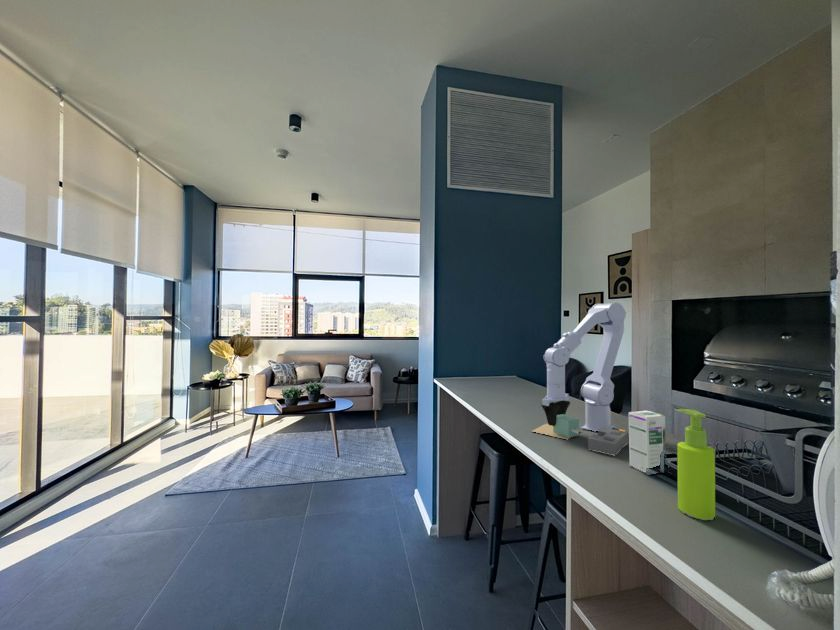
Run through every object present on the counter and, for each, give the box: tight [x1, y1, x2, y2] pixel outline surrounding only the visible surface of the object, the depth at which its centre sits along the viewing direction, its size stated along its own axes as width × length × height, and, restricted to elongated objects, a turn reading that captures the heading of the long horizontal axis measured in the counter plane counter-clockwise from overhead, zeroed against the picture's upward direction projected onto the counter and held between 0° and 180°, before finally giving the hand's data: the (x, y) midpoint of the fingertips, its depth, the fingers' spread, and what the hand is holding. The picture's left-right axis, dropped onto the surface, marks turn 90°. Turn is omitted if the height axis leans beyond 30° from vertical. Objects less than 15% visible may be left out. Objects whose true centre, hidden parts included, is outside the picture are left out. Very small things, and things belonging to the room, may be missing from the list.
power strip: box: [587, 428, 629, 455], centre depth 106 cm, size 14×7×4 cm, turn 137°
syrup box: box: [628, 410, 667, 472], centre depth 90 cm, size 6×6×14 cm
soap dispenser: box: [676, 408, 716, 519], centre depth 71 cm, size 6×7×20 cm
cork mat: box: [531, 422, 572, 440], centre depth 120 cm, size 12×12×1 cm
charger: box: [553, 414, 584, 438], centre depth 116 cm, size 5×8×6 cm, turn 29°
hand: (555, 423), depth 120 cm, fingers closed on charger, 5 cm apart
